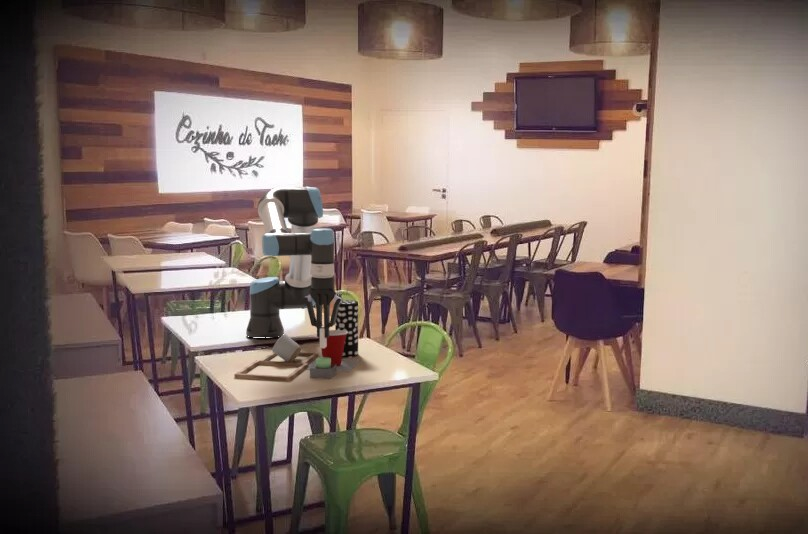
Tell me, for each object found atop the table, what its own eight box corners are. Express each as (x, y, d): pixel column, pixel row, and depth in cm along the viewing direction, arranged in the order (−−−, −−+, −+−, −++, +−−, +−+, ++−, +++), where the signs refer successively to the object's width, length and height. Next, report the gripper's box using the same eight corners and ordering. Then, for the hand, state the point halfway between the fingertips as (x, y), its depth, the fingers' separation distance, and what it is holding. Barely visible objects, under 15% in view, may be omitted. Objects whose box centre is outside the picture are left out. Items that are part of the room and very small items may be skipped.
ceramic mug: (287, 368, 276) (293, 354, 272) (269, 354, 278) (274, 340, 273) (304, 351, 285) (310, 338, 280) (286, 339, 286) (291, 325, 281)
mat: (317, 359, 283) (317, 358, 283) (360, 361, 280) (360, 360, 280) (303, 370, 267) (303, 369, 267) (348, 373, 264) (348, 371, 264)
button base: (316, 373, 264) (316, 363, 263) (336, 374, 263) (336, 364, 262) (309, 378, 257) (309, 368, 257) (330, 379, 256) (330, 369, 255)
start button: (318, 363, 262) (318, 356, 262) (332, 364, 261) (332, 357, 261) (313, 367, 257) (313, 360, 257) (328, 368, 256) (328, 361, 256)
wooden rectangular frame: (272, 354, 290) (272, 350, 289) (321, 357, 286) (321, 353, 286) (234, 378, 256) (234, 374, 256) (289, 382, 253) (289, 377, 253)
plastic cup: (347, 360, 279) (347, 327, 278) (348, 368, 269) (348, 334, 267) (317, 361, 278) (316, 327, 277) (316, 369, 268) (316, 334, 266)
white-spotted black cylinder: (332, 354, 290) (332, 301, 288) (354, 352, 293) (354, 299, 291) (339, 359, 283) (339, 304, 280) (361, 357, 286) (361, 303, 283)
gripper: (299, 277, 253) (300, 348, 256) (338, 278, 251) (339, 350, 253) (307, 274, 260) (307, 343, 263) (345, 275, 258) (345, 345, 261)
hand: (323, 347), depth 258 cm, fingers closed
